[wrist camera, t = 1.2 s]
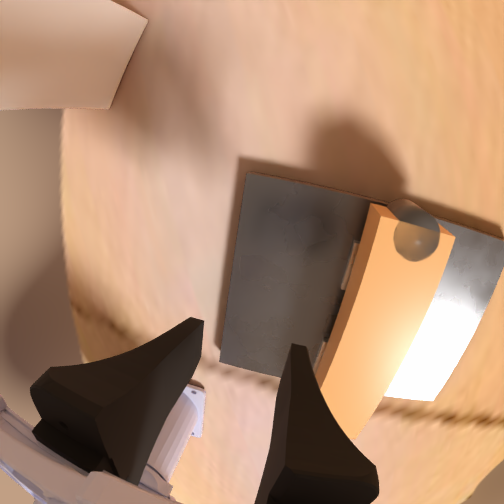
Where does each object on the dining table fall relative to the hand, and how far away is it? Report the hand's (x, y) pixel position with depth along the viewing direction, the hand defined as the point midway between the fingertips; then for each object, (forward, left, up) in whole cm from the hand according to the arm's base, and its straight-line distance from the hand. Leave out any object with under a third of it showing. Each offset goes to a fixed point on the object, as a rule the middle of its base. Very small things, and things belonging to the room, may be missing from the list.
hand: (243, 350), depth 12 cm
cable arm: (+6, -2, -6) cm, 9 cm away
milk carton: (-15, +14, -9) cm, 22 cm away
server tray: (+6, -3, -8) cm, 11 cm away
